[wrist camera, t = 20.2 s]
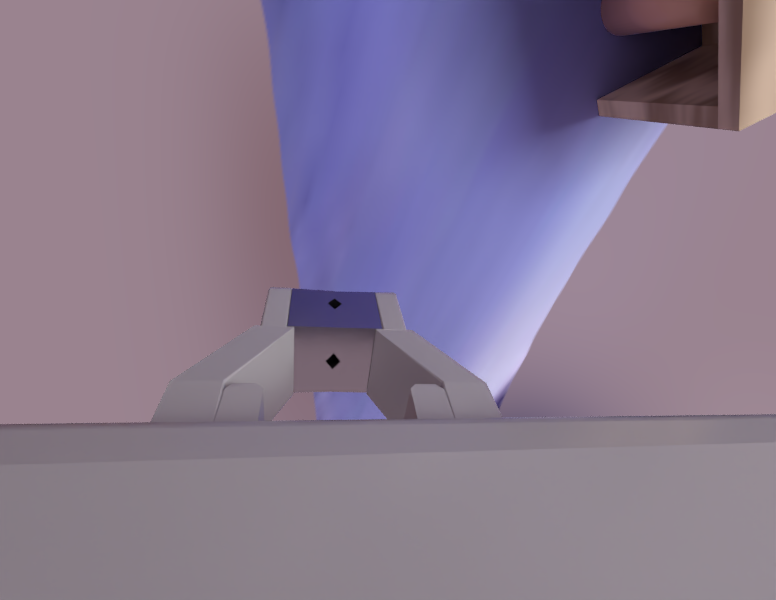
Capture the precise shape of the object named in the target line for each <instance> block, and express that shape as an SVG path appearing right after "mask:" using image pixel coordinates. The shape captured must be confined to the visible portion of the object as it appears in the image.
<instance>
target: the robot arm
mask: <svg viewBox="0 0 776 600" xmlns="http://www.w3.org/2000/svg"><path fill="white" fill-rule="evenodd" d="M329 391H331V392H367V395H368V396H369V397H370V399H371V400H372V401H373V402H374V403H375V405H376V406H377V407H378V408H379V410H380V411H381V412H382V413H383V414H384V416H385V417H386V418H387V419H377V420H303V421H272V419H273V418H274V417H275V416H276V415H277V413H278V412H279V411H280V410H281V408H282V407H283V406H284V405H285V404H286V402H287V401H288V400H289V399H290V398H291V397H292V395H293V392H329ZM0 600H776V414H770V415H769V414H767V415H766V414H762V415H693V416H692V415H690V416H689V415H686V416H609V417H532V418H531V417H528V418H502V416H501V413H500V411H499V409H498V407H497V405H496V403H495V401H494V399H493V397H492V394H491V392H490V390H489V388H488V386H487V384H486V383H485V382H484V381H482V380H481V379H480V378H478V377H477V376H475V375H474V374H473V373H471V372H470V371H468V370H467V369H466V368H464V367H463V366H461V365H460V364H459V363H457V362H456V361H454V360H453V359H452V358H450V357H449V356H447V355H446V354H445V353H443V352H442V351H440V350H439V349H438V348H436V347H435V346H433V345H432V344H431V343H429V342H428V341H426V340H425V339H424V338H422V337H421V336H419V335H418V334H417V333H415V332H414V331H412V330H406V327H405V324H404V320H403V317H402V314H401V310H400V307H399V303H398V300H397V297H396V294H395V293H375V292H335V291H325V290H309V289H294V288H293V289H291V288H274V287H272V288H270V289H269V290H268V295H267V299H266V303H265V308H264V312H263V316H262V321H261V325H260V326H253V327H251V328H250V329H248V330H247V331H245V332H244V333H242V334H241V335H239V336H238V337H236V338H234V339H233V340H232V341H230V342H228V343H227V344H225V345H224V346H223V347H221V348H219V349H218V350H216V351H215V352H213V353H212V354H210V355H209V356H207V357H206V358H204V359H203V360H201V361H200V362H198V363H197V364H195V365H194V366H192V367H191V368H189V369H187V370H186V371H184V372H183V373H181V374H180V375H178V376H177V377H176V378H174V379H172V380H171V381H170V382H169V384H168V386H167V388H166V390H165V393H164V394H163V396H162V399H161V401H160V403H159V405H158V407H157V409H156V411H155V414H154V416H153V418H152V420H151V422H150V423H148V422H145V423H75V424H73V423H71V424H70V423H67V424H0Z"/></svg>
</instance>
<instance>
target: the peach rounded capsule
mask: <svg viewBox="0 0 776 600" xmlns="http://www.w3.org/2000/svg"><path fill="white" fill-rule="evenodd" d="M601 17H602V21H603V24H604V26H605V28H606V29H607V30H608V31H609V32H610V33H611V34H613V35H616V36H627V35H633V34H640V33H647V32H654V31H661V30H668V29H674V28H681V27H688V26H695V25H702V24H709V23H715V22H719V0H602V2H601Z"/></svg>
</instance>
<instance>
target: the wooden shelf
mask: <svg viewBox="0 0 776 600" xmlns="http://www.w3.org/2000/svg"><path fill="white" fill-rule="evenodd" d="M597 104H598V111H599V116H604V117H614V118H623V119H632V120H641V121H650V122H659V123H668V124H677V125H687V126H696V127H705V128H714V129H723V130H732V131H740V130H742V129H744V128H746V127H748V126H750V125H752V124H754V123H756V122H758V121H760V120H762V119H764V118H766V117H768V116H770V115H772V114H774V113H776V0H719V22H715V23H709V24H702V46H701V47H699V48H697V49H695V50H693V51H691V52H689V53H687V54H685V55H683V56H681V57H679V58H677V59H675V60H673V61H671V62H670V63H668V64H666V65H664V66H662V67H660V68H658V69H656V70H654V71H652V72H650V73H648V74H646V75H644V76H642V77H640V78H638V79H637V80H635V81H633V82H631V83H629V84H627V85H625V86H623V87H621V88H619V89H617V90H615V91H613V92H611V93H609V94H607V95H605V96H603V97H602V98H600V99H598V100H597Z"/></svg>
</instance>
